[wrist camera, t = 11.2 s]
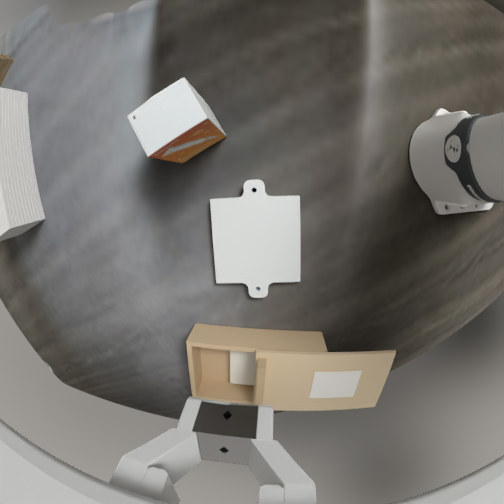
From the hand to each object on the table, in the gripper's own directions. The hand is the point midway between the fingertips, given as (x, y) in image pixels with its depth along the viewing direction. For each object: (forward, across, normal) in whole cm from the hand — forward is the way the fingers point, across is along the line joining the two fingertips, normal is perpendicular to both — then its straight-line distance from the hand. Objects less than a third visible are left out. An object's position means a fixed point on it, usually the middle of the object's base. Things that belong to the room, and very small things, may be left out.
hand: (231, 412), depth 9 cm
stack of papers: (+35, +55, -15) cm, 67 cm away
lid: (+28, -11, +23) cm, 38 cm away
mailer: (+34, 0, +23) cm, 41 cm away
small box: (+34, +11, -15) cm, 39 cm away
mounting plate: (+35, +1, +1) cm, 35 cm away
